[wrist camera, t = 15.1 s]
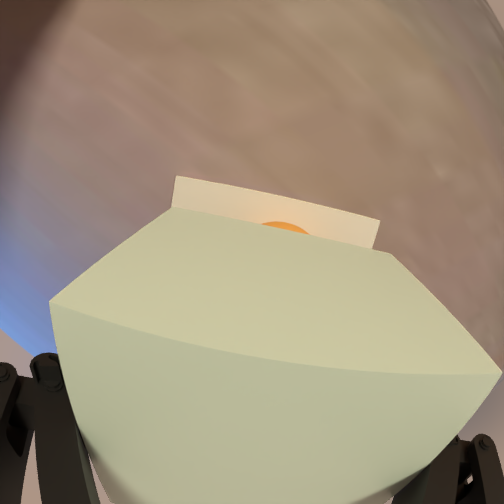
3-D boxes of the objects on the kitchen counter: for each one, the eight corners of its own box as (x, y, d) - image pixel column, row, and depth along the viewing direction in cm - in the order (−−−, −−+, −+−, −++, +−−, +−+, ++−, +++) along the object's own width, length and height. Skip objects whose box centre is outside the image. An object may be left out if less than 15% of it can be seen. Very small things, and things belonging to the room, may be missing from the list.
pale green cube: (158, 377, 16) (110, 501, 8) (172, 206, 13) (48, 300, 5) (324, 405, 17) (345, 531, 8) (390, 253, 13) (502, 373, 5)
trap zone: (158, 347, 20) (157, 349, 20) (176, 175, 16) (176, 175, 16) (321, 377, 21) (321, 379, 20) (379, 220, 17) (380, 220, 17)
